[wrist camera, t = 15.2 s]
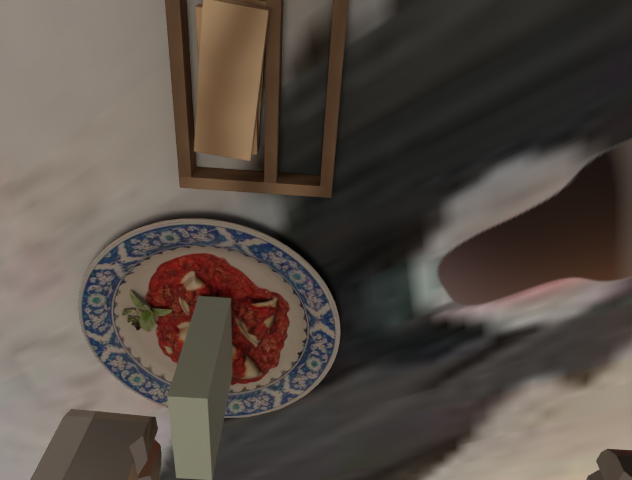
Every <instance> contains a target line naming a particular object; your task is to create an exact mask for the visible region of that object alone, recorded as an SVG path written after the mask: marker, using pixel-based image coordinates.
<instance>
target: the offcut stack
mask: <svg viewBox="0 0 632 480" xmlns="http://www.w3.org/2000/svg"><path fill="white" fill-rule="evenodd" d="M195 10H196V26H197V42H198V58H199V73H198V90H197V106H196V123H195V140H194V151H195V152H201V153H207V154H212V155H218V156H224V157H229V158H235V159H241V160H247V161H250V160H251V157H252V154H256V155H257V152H258V149H259V139H260V125H261V110H262V96H263V82H264V68H265V54H266V38H267V30H268V21H269V13H270V7H266V0H203V4H198V5H197V6H196V7H195Z"/></svg>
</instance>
